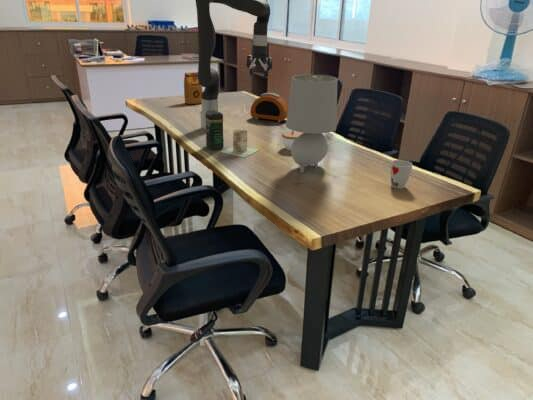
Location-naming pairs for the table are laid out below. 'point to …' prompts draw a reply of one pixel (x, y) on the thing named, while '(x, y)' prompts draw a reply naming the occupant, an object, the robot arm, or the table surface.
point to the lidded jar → (289, 138)
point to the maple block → (240, 141)
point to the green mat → (243, 155)
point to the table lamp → (311, 116)
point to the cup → (400, 173)
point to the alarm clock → (269, 107)
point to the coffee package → (192, 88)
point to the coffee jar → (214, 129)
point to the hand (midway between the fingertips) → (258, 77)
